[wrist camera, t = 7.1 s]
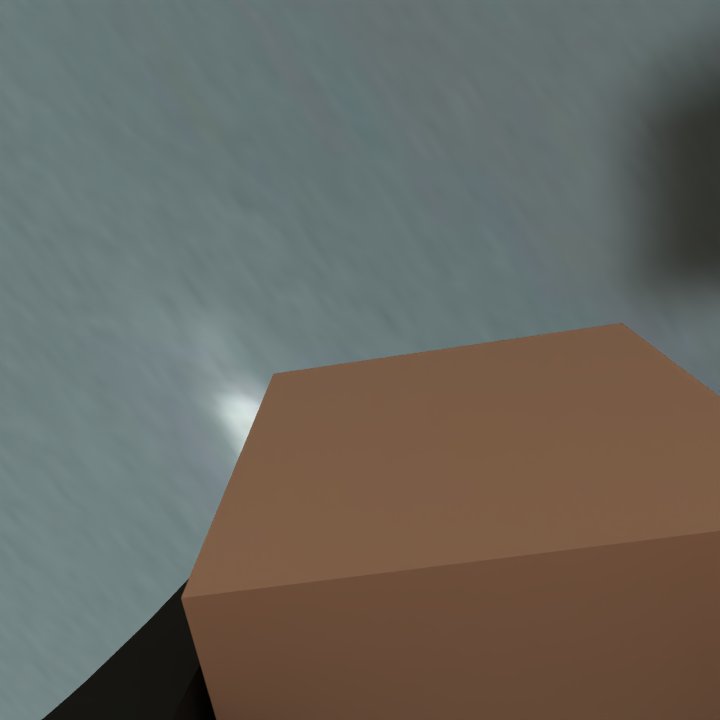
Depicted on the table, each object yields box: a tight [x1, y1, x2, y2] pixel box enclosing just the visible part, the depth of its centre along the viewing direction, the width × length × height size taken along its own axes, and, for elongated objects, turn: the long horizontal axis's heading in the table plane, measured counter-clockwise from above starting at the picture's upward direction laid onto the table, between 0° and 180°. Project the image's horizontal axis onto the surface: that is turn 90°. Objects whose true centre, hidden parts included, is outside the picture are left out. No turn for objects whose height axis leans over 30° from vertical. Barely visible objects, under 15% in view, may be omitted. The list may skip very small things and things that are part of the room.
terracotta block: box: [181, 323, 720, 720], centre depth 8 cm, size 5×5×5 cm
